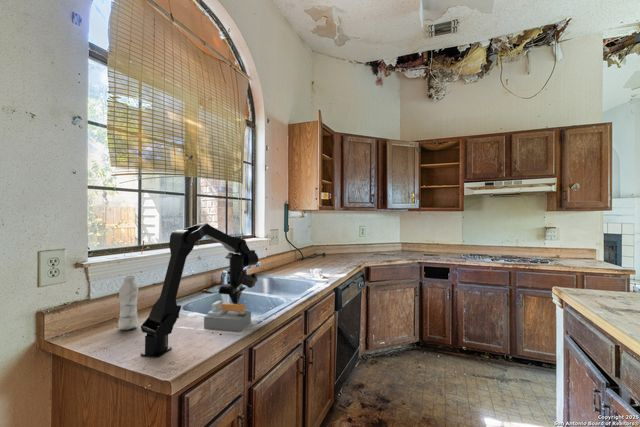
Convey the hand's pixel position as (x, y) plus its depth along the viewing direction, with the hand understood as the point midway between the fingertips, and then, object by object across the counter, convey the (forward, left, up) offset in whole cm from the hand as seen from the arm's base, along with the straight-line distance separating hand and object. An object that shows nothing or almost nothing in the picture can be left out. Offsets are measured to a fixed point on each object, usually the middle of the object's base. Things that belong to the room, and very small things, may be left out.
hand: (235, 305), depth 123 cm
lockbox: (-5, 0, -6) cm, 8 cm away
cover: (-5, +5, -2) cm, 8 cm away
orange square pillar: (-5, -2, -1) cm, 6 cm away
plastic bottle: (-17, +35, -6) cm, 40 cm away
